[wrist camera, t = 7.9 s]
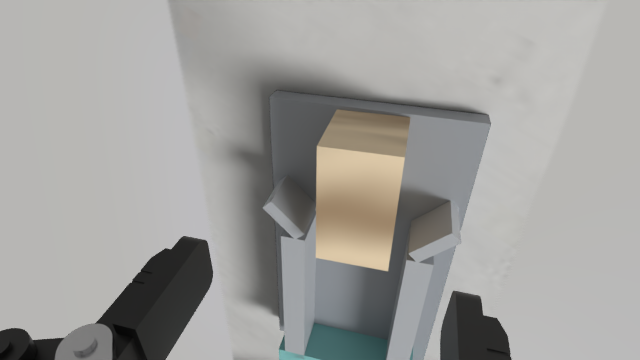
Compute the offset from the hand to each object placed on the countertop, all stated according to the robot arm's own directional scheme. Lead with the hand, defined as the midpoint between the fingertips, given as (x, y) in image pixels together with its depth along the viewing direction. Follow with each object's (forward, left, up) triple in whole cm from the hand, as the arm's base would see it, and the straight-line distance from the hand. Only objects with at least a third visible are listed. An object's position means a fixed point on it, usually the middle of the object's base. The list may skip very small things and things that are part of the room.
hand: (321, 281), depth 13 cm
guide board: (+8, +4, -13) cm, 16 cm away
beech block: (+2, +1, -11) cm, 12 cm away
